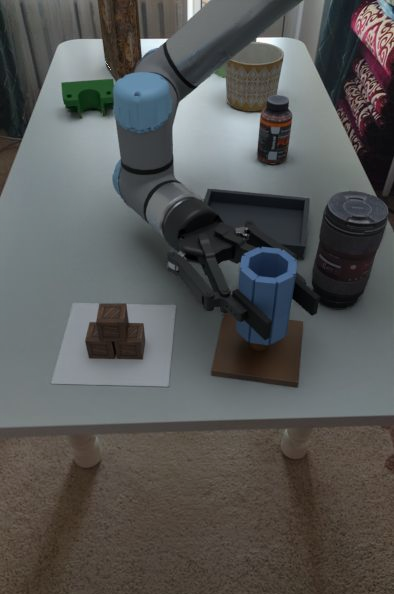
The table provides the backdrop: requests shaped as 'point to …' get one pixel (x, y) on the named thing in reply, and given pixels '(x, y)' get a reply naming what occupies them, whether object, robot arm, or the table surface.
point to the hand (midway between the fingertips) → (292, 318)
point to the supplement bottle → (274, 130)
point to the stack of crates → (116, 345)
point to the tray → (265, 215)
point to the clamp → (88, 95)
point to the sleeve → (267, 290)
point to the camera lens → (347, 247)
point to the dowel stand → (258, 355)
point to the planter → (253, 76)
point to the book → (120, 35)
